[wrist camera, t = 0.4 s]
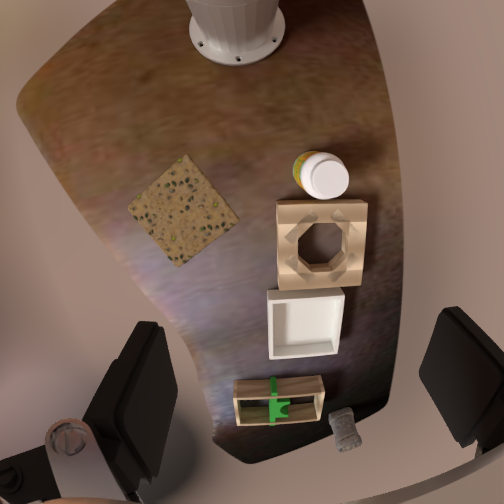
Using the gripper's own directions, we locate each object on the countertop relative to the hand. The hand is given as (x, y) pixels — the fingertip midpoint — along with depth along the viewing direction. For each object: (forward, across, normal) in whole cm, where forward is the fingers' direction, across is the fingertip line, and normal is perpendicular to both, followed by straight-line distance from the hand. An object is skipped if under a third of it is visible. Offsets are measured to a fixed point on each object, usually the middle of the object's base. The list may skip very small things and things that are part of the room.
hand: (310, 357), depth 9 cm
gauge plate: (+32, -8, +7) cm, 34 cm away
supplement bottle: (+32, -6, -3) cm, 33 cm away
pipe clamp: (+33, -3, +38) cm, 50 cm away
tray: (+32, -6, +20) cm, 38 cm away
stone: (+33, -17, +46) cm, 59 cm away
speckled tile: (+33, +12, +2) cm, 35 cm away
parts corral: (+33, -3, +38) cm, 50 cm away
